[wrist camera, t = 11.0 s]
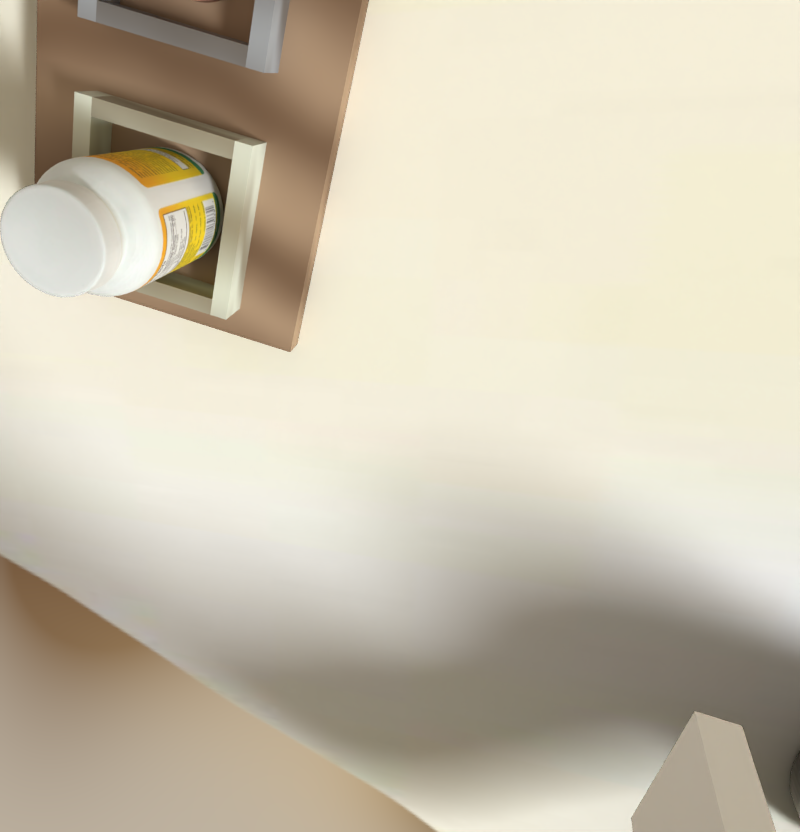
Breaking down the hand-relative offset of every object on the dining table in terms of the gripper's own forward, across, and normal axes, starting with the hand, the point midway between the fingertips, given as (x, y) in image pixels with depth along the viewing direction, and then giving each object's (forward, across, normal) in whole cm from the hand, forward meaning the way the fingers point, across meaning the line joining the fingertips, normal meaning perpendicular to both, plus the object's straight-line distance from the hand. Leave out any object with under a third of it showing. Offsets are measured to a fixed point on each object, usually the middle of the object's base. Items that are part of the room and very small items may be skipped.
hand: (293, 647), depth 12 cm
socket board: (+24, +14, -6) cm, 29 cm away
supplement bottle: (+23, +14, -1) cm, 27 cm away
